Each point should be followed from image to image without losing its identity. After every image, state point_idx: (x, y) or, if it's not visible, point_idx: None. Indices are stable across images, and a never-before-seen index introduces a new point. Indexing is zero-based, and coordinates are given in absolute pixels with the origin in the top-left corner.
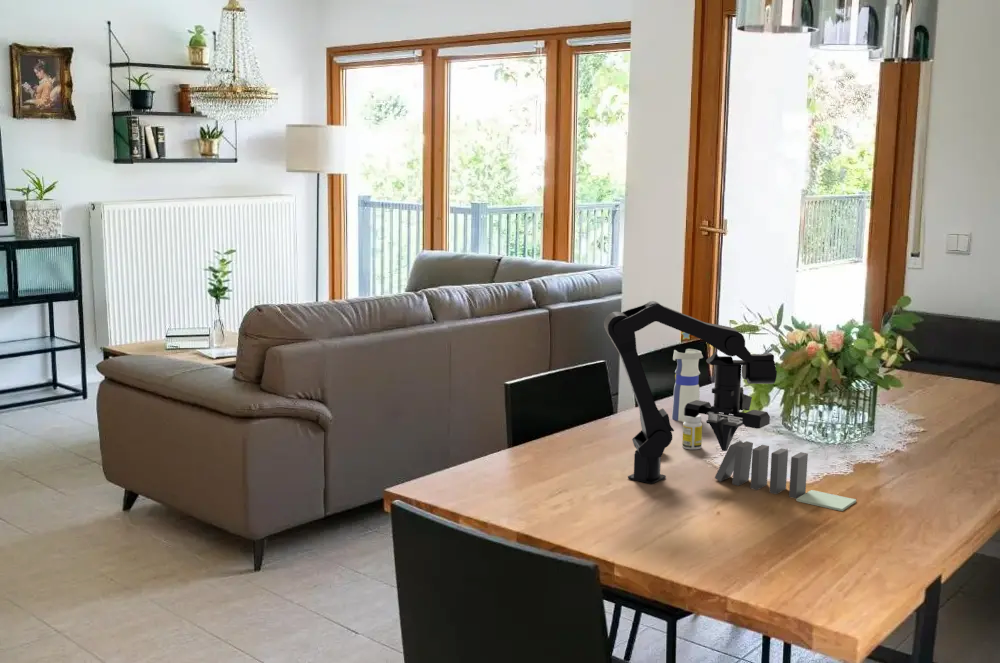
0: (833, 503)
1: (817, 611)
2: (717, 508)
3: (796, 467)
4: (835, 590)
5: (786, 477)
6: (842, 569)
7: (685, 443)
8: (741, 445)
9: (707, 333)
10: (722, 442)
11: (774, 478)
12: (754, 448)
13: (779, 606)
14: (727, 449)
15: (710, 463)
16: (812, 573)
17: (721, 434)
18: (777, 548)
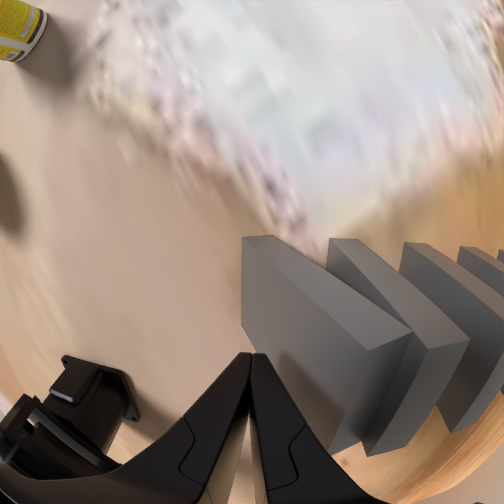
0: None
1: (441, 489)
2: (338, 454)
3: None
4: (461, 471)
5: (499, 261)
6: (478, 451)
7: (6, 60)
8: (395, 437)
9: None
10: (244, 433)
11: None
12: (462, 418)
13: (419, 499)
14: (268, 359)
15: (116, 115)
16: (452, 470)
17: (228, 487)
18: (430, 468)
